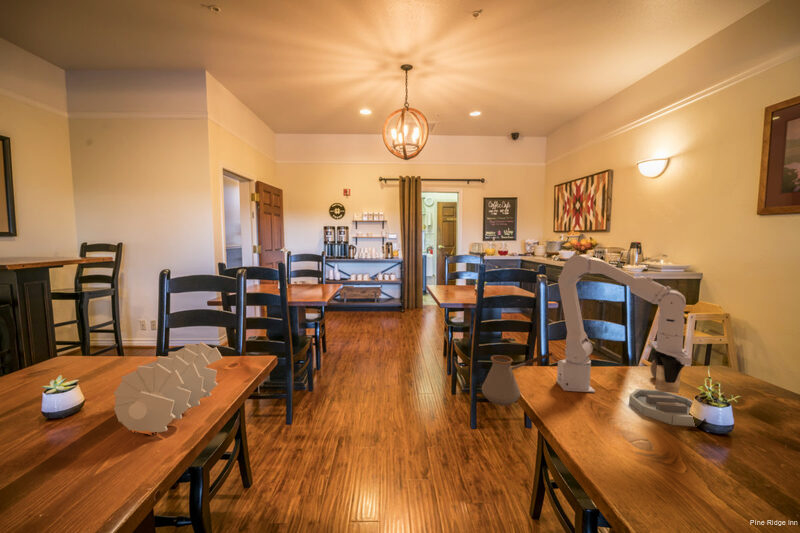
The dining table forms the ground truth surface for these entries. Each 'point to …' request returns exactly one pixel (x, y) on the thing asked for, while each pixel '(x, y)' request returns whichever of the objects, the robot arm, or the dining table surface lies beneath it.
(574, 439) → the dining table surface
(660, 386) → the pine wood chunk
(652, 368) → the vase
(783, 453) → the dining table surface
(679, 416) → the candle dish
